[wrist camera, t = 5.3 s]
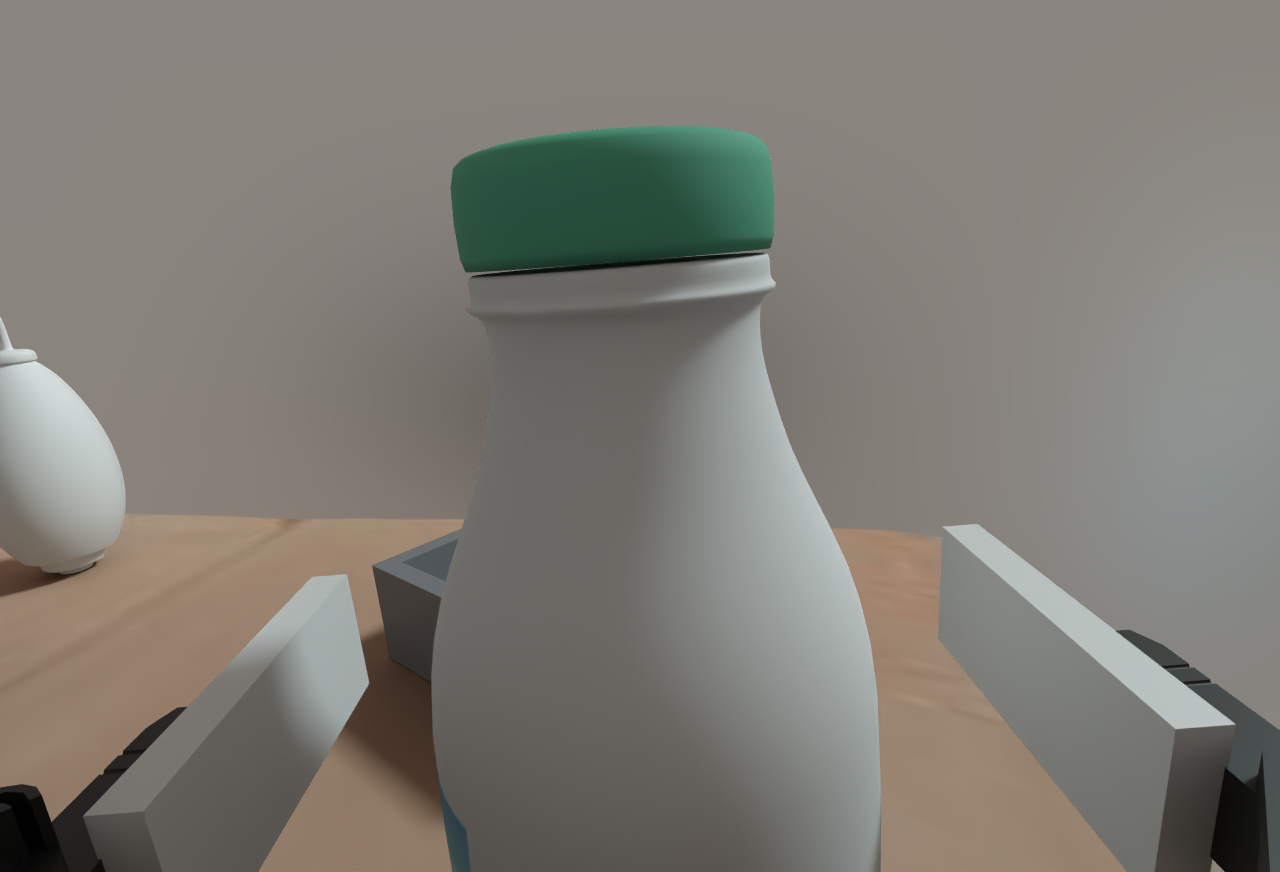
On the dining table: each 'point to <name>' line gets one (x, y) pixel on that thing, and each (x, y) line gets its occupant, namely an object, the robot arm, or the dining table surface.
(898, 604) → the dining table surface
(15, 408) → the white squeeze bottle
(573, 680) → the milk bottle
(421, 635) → the box
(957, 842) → the dining table surface
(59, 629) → the dining table surface
